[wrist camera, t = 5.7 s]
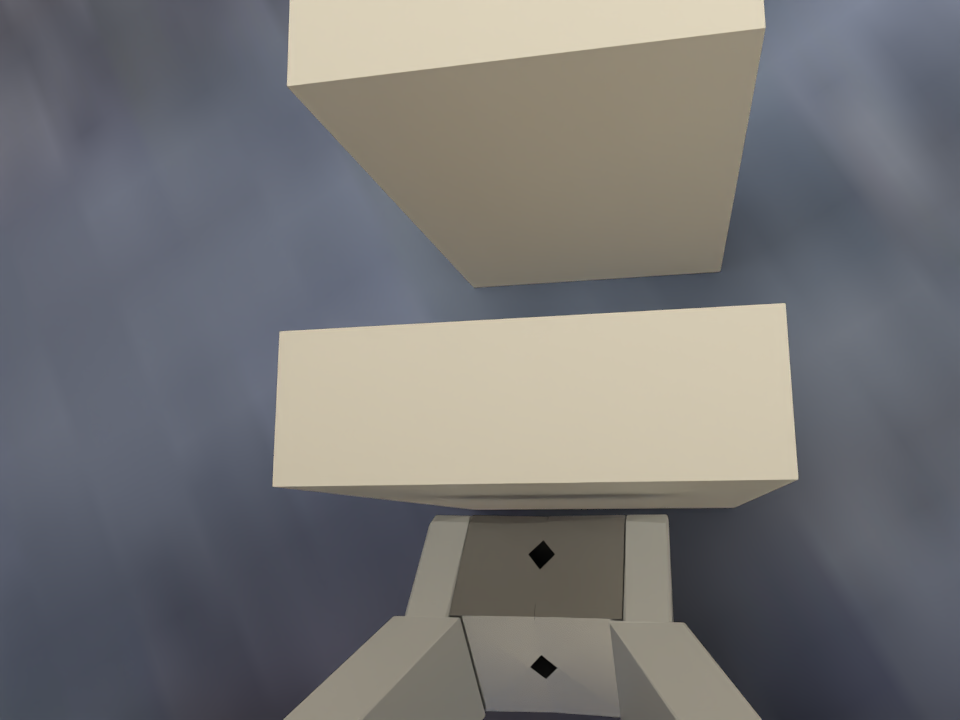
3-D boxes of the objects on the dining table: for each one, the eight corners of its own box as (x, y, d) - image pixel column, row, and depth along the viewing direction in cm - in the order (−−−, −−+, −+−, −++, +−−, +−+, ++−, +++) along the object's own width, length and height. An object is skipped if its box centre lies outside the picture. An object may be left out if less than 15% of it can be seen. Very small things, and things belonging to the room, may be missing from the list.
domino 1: (720, 271, 17) (765, 27, 8) (473, 287, 18) (286, 85, 9) (715, 194, 17) (754, -120, 9) (473, 214, 18) (290, -46, 10)
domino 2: (733, 507, 16) (798, 479, 8) (474, 509, 17) (272, 486, 9) (728, 423, 16) (784, 303, 8) (475, 430, 18) (278, 331, 9)
